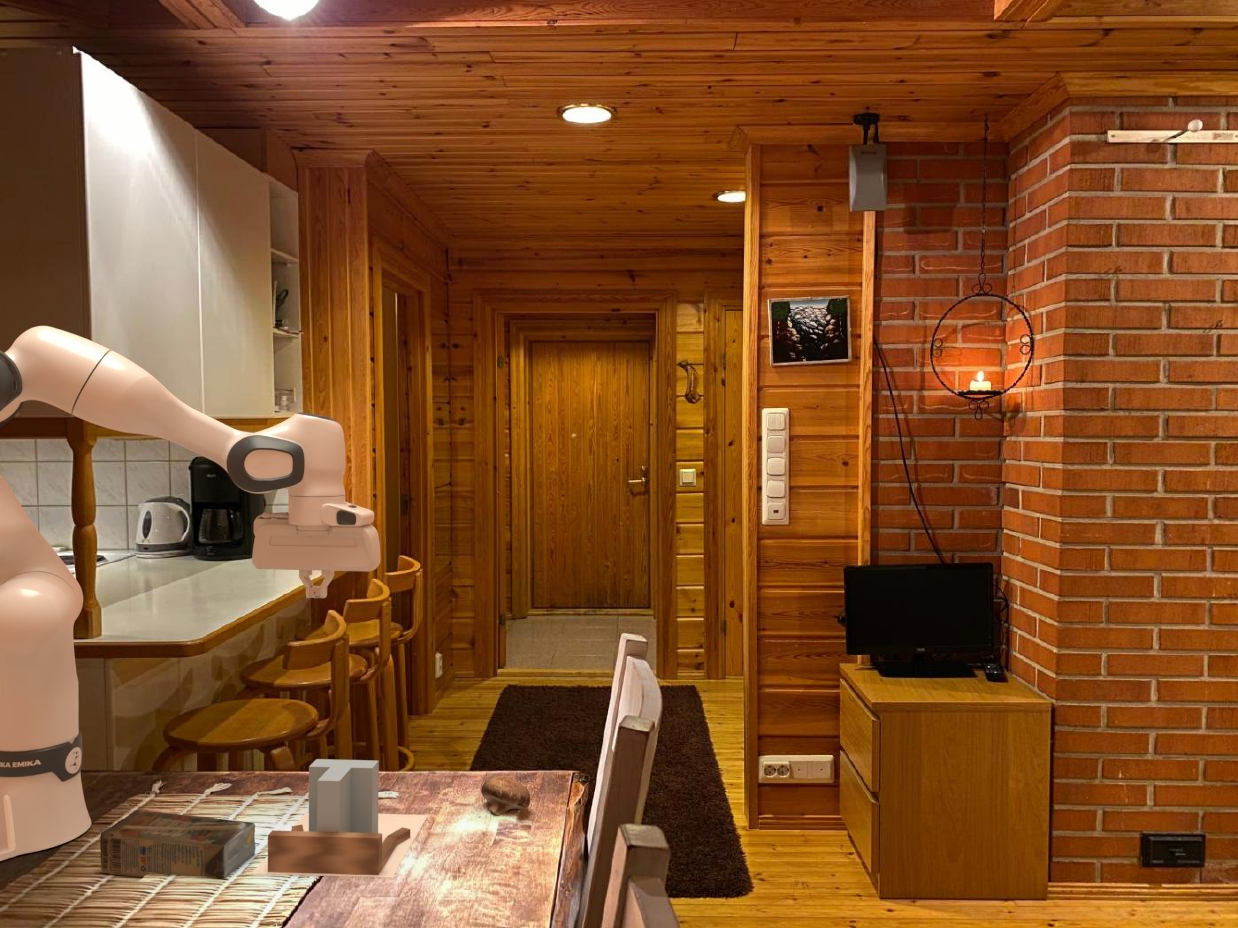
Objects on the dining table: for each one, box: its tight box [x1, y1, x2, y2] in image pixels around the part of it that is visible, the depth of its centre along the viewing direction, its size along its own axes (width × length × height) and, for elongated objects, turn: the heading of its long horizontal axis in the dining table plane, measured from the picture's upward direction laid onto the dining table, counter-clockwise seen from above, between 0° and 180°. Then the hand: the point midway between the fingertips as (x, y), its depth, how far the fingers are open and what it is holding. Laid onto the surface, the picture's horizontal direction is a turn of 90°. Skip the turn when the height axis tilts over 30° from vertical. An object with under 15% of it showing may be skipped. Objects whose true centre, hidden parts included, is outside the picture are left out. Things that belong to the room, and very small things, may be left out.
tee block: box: [308, 758, 380, 833], centre depth 127 cm, size 9×8×12 cm
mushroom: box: [480, 776, 531, 817], centre depth 145 cm, size 8×8×6 cm
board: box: [250, 811, 429, 879], centre depth 131 cm, size 19×20×1 cm
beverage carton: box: [99, 809, 256, 880], centre depth 125 cm, size 8×19×6 cm, turn 81°
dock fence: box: [267, 825, 410, 875], centre depth 128 cm, size 18×12×5 cm
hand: (316, 597), depth 149 cm, fingers closed
